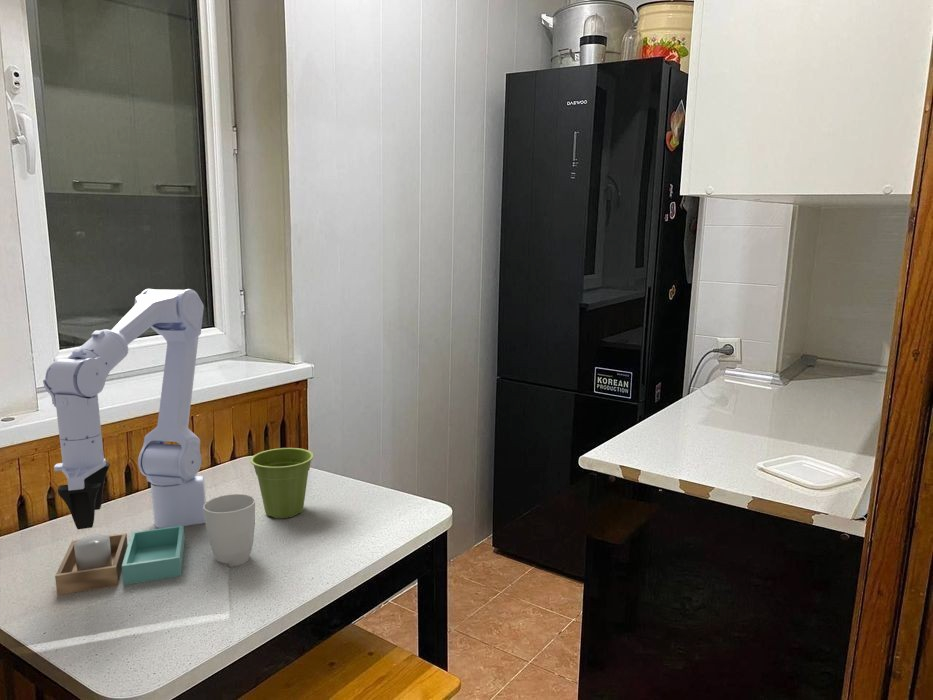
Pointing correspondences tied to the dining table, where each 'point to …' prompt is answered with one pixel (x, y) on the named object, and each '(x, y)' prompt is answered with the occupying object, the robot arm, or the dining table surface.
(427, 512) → the dining table surface
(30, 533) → the dining table surface
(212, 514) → the cup
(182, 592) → the dining table surface
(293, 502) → the plant pot
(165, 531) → the teal bin
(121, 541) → the walnut bin
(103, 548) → the white rounded cube
